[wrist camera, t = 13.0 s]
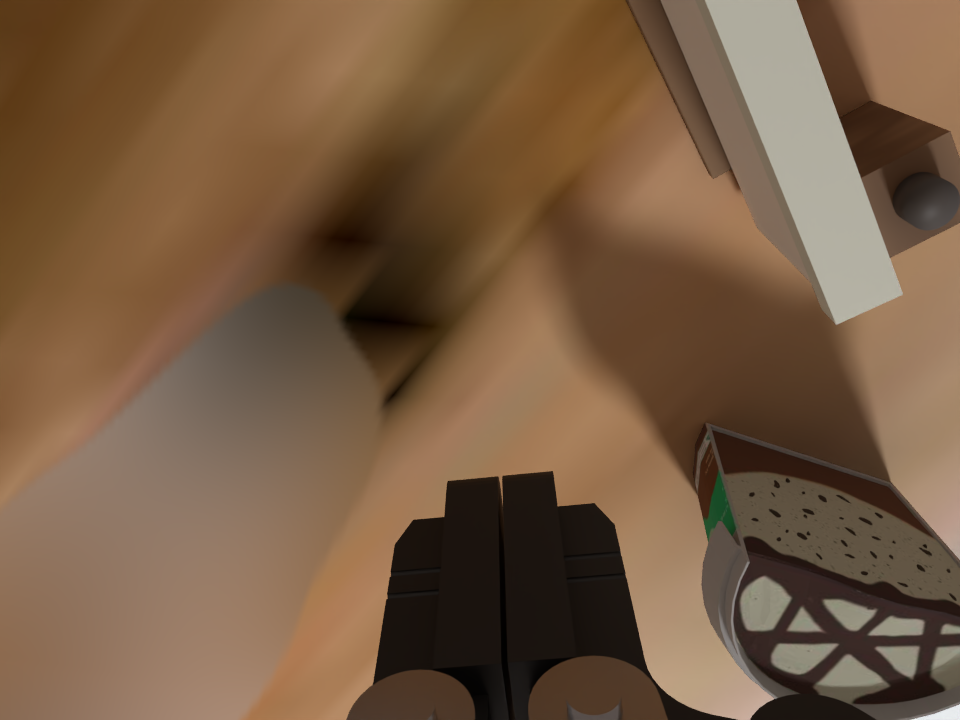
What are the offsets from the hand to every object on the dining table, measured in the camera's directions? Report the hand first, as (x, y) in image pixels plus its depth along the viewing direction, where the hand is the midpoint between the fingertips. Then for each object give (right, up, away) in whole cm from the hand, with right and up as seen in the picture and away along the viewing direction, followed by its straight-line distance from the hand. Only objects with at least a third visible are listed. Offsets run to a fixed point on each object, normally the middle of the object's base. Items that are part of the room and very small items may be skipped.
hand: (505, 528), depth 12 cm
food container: (+13, -4, +28) cm, 31 cm away
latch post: (+14, +10, +20) cm, 27 cm away
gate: (+7, +15, +17) cm, 24 cm away
